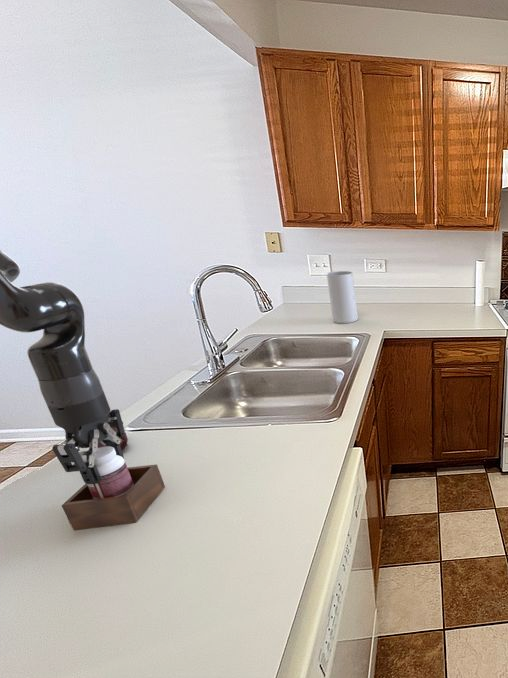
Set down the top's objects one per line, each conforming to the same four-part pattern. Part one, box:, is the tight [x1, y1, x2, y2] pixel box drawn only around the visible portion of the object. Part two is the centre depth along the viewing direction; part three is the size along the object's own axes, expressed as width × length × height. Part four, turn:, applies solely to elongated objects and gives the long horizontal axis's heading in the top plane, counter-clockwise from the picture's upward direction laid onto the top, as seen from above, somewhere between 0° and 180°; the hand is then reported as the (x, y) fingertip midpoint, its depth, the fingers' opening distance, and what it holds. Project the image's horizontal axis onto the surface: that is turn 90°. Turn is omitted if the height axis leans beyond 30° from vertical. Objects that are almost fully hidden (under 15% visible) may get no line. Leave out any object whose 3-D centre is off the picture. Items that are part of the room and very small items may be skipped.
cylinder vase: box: [326, 270, 359, 324], centre depth 206 cm, size 12×12×25 cm
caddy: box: [61, 464, 166, 531], centre depth 80 cm, size 11×11×6 cm
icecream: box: [98, 421, 129, 452], centre depth 97 cm, size 7×7×15 cm
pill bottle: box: [82, 446, 134, 499], centre depth 78 cm, size 6×6×11 cm
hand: (106, 471), depth 78 cm, fingers closed on pill bottle, 6 cm apart
